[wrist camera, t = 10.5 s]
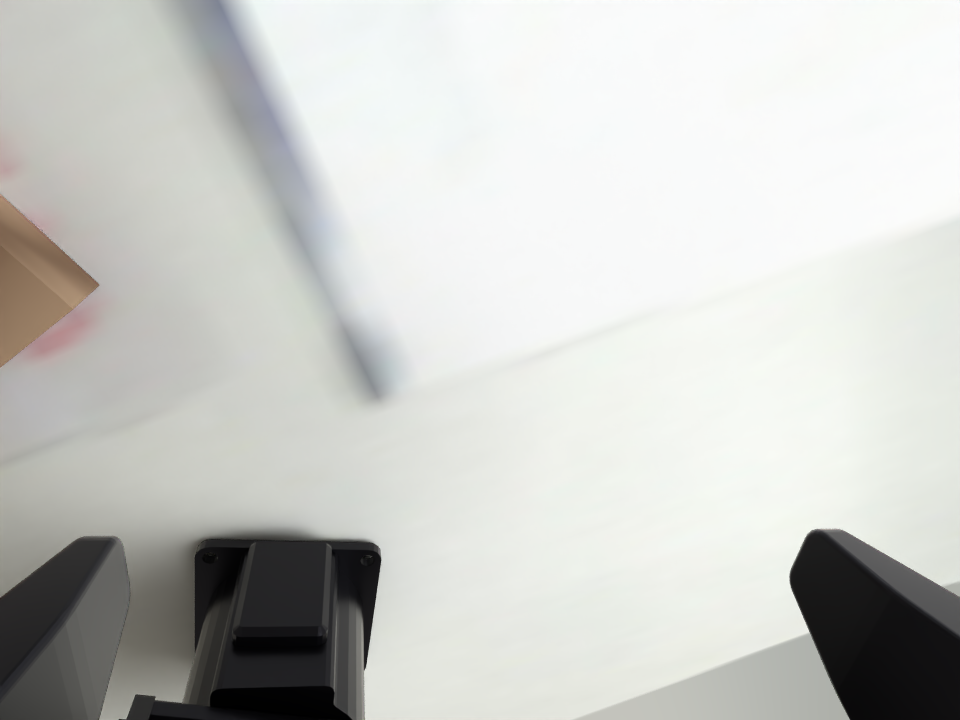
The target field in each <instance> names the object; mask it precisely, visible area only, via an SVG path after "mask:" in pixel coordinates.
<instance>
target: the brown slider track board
mask: <svg viewBox="0 0 960 720" xmlns="http://www.w3.org/2000/svg"><path fill="white" fill-rule="evenodd" d="M98 286H99V284H98V283H97V282H96V281H95V280H94V279H93V278H92V277H91V276H89V275H88V274H87V273H86V272H85V271H84V270H83V269H82V268H81V267H80V266H79V265H77V264H76V263H75V262H74V261H73V260H72V259H71V258H70V257H69V256H68V255H66V254H65V253H64V252H63V251H62V250H61V249H60V248H59V247H58V246H57V245H56V244H54V243H53V242H52V241H51V240H50V239H49V238H48V237H47V236H46V235H45V234H43V233H42V232H41V231H40V230H39V229H38V228H37V227H36V226H35V225H34V224H33V223H31V222H30V221H29V220H28V219H27V218H26V217H25V216H24V215H23V214H22V213H20V212H19V211H18V210H17V209H16V208H15V207H14V206H13V205H12V204H11V203H10V202H8V201H7V200H6V199H5V198H4V197H3V196H2V195H1V194H0V367H2V366H3V365H4V364H5V363H7V362H8V361H9V360H10V359H12V358H13V357H14V356H15V355H17V354H18V353H19V352H20V351H22V350H23V349H24V348H25V347H27V346H28V345H29V344H30V343H31V342H33V341H34V340H35V339H36V338H38V337H39V336H40V335H41V334H43V333H44V332H45V331H46V330H48V329H49V328H50V327H51V326H53V325H54V324H55V323H56V322H58V321H59V320H60V319H61V318H63V317H64V316H65V315H66V314H68V313H69V312H70V311H71V310H73V309H74V308H75V307H76V306H77V305H78V304H79V303H80V302H82V301H83V300H84V299H85V298H86V297H87V296H88V295H89V294H90V293H91V292H93V291H94V290H95V289H96V288H97V287H98Z"/></svg>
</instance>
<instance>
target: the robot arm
mask: <svg viewBox="0 0 960 720" xmlns="http://www.w3.org/2000/svg"><path fill="white" fill-rule="evenodd" d="M209 552H211V553H214V554H216V556H209V555H207V554H206V553H209ZM366 555H370V556H372V557H371V558H367V559H366V558H363V557H364V556H366ZM380 565H381V551H380V548H379V547H378V546H377V545H375V544H373V543H360V542H314V541H267V540H221V539H211V540H206V541H204V542H202V543H201V544H200V545H199V546H198V549H197V552H196V555H195V657H194V660H193V664H192V668H191V672H190V676H189V679H188V683H187V687H186V691H185V694H184V698H183V702H182V703H176V702H167V701H158V700H155V696H146V695H137V694H136V695H135V698H134V701H133V703H132V706H131V709H130V711H129V714H128V717H127V720H365V709H364V670H365V668H366V664H367V657H368V650H369V643H370V636H371V629H372V622H373V614H374V607H375V600H376V593H377V586H378V579H379V572H380ZM789 577H790V585H791V589H792V592H793V594H794V596H795V599H796V601H797V603H798V606H799V608H800V610H801V613H802V615H803V618H804V620H805V622H806V625H807V627H808V629H809V632H810V634H811V636H812V639H813V641H814V643H815V646H816V648H817V650H818V653H819V655H820V657H821V660H822V662H823V665H824V667H825V669H826V671H827V674H828V676H829V678H830V681H831V683H832V685H833V687H834V689H835V692H836V694H837V696H838V698H839V700H840V702H841V704H842V706H843V707H844V709H845V711H846V713H847V715H848V717H849V719H850V720H960V597H959V596H957V595H955V594H954V593H952V592H950V591H948V590H947V589H945V588H943V587H941V586H940V585H938V584H936V583H934V582H933V581H931V580H929V579H927V578H926V577H924V576H922V575H921V574H919V573H917V572H915V571H914V570H912V569H910V568H908V567H907V566H905V565H903V564H901V563H900V562H898V561H896V560H894V559H893V558H891V557H889V556H887V555H886V554H884V553H882V552H880V551H879V550H877V549H875V548H873V547H872V546H870V545H868V544H866V543H865V542H863V541H861V540H859V539H858V538H856V537H854V536H853V535H851V534H849V533H847V532H845V531H843V530H840V529H815V530H812V531H811V532H809V533H808V534H807V536H806V538H805V540H804V542H803V544H802V546H801V548H800V550H799V553H798V555H797V557H796V559H795V561H794V563H793V566H792V568H791V570H790V576H789ZM129 601H130V583H129V577H128V571H127V565H126V559H125V553H124V547H123V544H122V542H121V540H120V539H119V538H118V537H115V536H85V537H81V538H79V539H77V540H75V541H74V542H72V543H71V544H70V545H68V546H67V547H66V548H64V549H63V550H62V551H60V552H59V553H58V554H57V555H55V556H54V557H53V558H51V559H50V560H49V561H47V562H46V563H45V564H44V565H42V566H41V567H40V568H38V569H37V570H36V571H34V572H33V573H32V574H31V575H29V576H28V577H27V578H25V579H24V580H23V581H21V582H20V583H19V584H18V585H16V586H15V587H14V588H12V589H11V590H10V591H8V592H7V593H6V594H5V595H3V596H2V597H1V598H0V720H99V717H100V714H101V710H102V706H103V702H104V698H105V695H106V691H107V687H108V683H109V679H110V676H111V672H112V668H113V664H114V660H115V657H116V653H117V649H118V645H119V641H120V638H121V634H122V630H123V626H124V623H125V619H126V615H127V611H128V607H129ZM119 720H126V719H119Z"/></svg>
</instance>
